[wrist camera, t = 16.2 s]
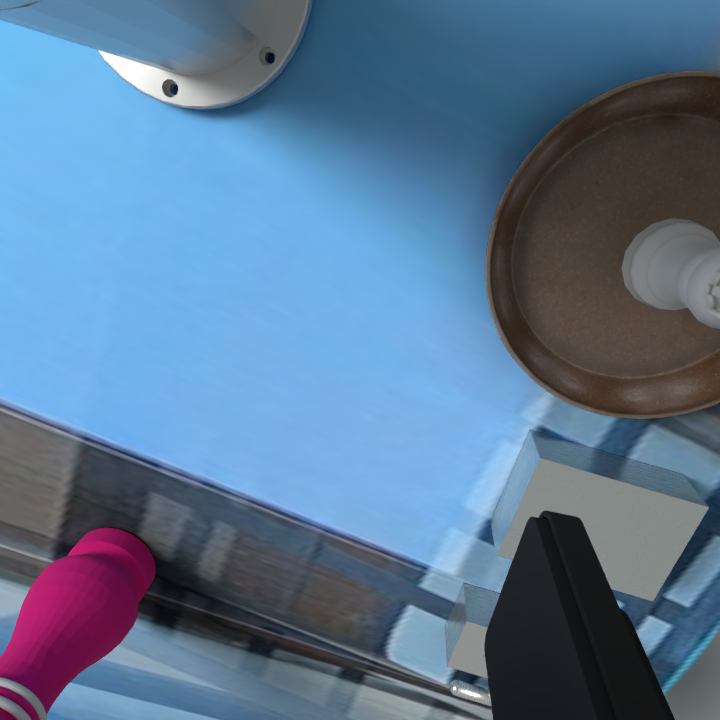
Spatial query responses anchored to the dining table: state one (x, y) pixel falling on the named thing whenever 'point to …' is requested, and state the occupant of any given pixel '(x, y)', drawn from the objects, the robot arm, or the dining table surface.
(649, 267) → the rook chess piece
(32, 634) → the pepper mill
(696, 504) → the bench vise
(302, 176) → the dining table surface
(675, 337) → the plant saucer
